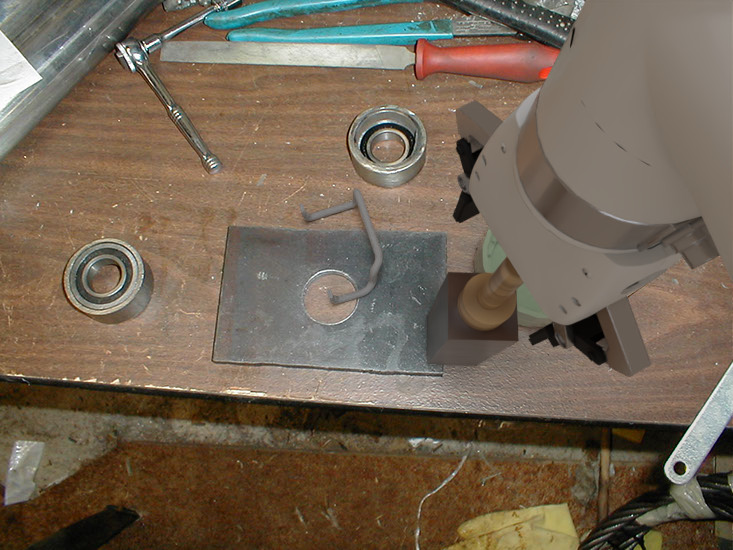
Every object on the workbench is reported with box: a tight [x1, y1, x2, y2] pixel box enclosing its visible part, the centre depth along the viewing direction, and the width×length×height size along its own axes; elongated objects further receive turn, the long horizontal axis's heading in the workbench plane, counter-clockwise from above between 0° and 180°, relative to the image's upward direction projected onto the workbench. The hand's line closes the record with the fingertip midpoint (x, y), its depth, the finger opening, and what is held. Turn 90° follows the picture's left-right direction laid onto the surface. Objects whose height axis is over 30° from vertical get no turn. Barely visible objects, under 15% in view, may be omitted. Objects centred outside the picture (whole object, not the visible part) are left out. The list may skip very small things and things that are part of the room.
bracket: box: [299, 187, 384, 304], centre depth 68 cm, size 13×8×5 cm, turn 18°
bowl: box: [473, 227, 552, 328], centre depth 67 cm, size 14×14×6 cm
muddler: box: [457, 257, 524, 331], centre depth 42 cm, size 4×4×13 cm
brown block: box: [426, 271, 519, 367], centre depth 58 cm, size 6×6×20 cm
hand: (510, 269), depth 38 cm, fingers open, 9 cm apart
